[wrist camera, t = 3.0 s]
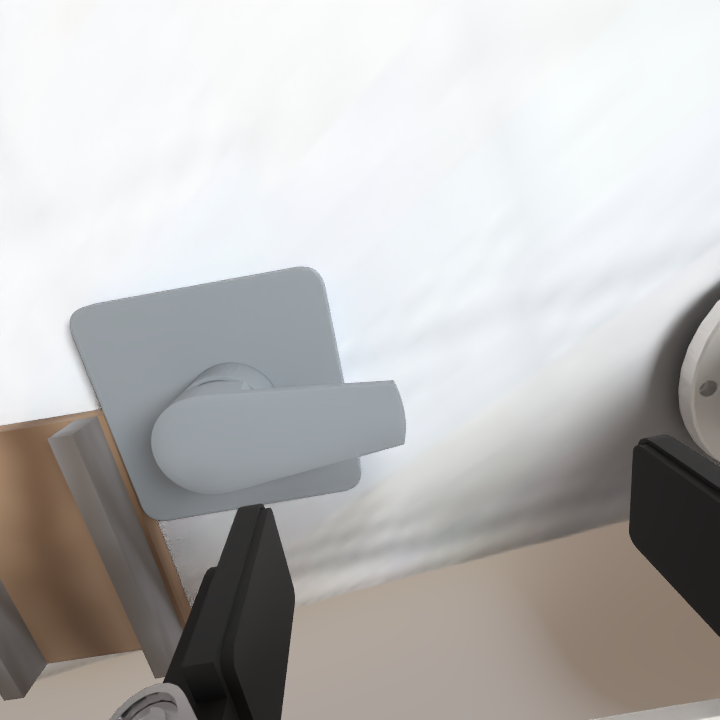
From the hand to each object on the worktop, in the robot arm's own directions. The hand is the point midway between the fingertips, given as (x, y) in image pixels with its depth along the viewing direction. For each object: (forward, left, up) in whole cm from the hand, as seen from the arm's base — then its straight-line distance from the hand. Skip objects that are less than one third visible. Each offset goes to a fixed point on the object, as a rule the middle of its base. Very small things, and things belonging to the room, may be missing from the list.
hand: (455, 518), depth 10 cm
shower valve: (0, 0, -9) cm, 9 cm away
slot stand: (+21, +8, -12) cm, 25 cm away
